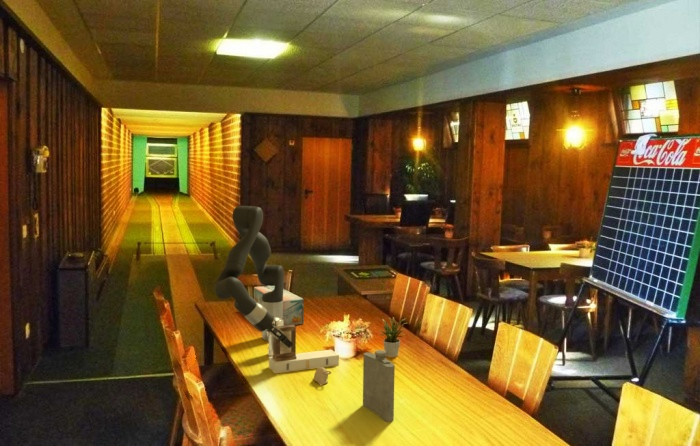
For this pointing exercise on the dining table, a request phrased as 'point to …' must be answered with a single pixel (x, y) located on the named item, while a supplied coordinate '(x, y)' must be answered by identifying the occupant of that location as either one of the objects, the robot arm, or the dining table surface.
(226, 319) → the dining table surface
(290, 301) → the soda box
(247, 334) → the dining table surface
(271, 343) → the beer glass
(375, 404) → the hip flask
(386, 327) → the house plant
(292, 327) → the picture frame
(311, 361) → the picture ledge
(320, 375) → the decorative ornament
